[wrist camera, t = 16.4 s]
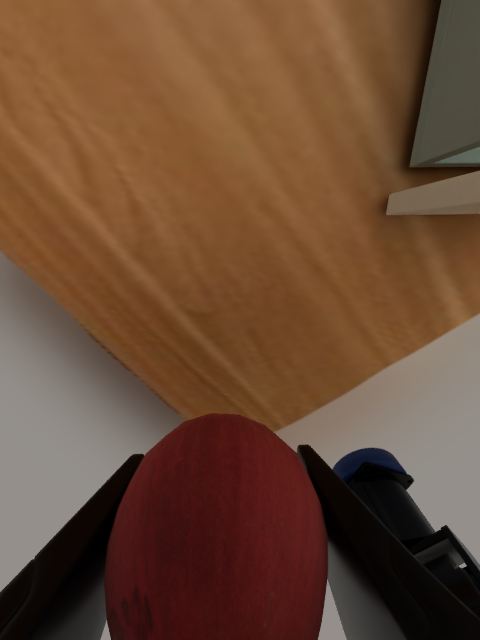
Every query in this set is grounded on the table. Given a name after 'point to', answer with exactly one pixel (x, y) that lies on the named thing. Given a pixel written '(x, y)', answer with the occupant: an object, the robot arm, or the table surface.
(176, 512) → the onion
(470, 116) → the drawer
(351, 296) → the table surface
